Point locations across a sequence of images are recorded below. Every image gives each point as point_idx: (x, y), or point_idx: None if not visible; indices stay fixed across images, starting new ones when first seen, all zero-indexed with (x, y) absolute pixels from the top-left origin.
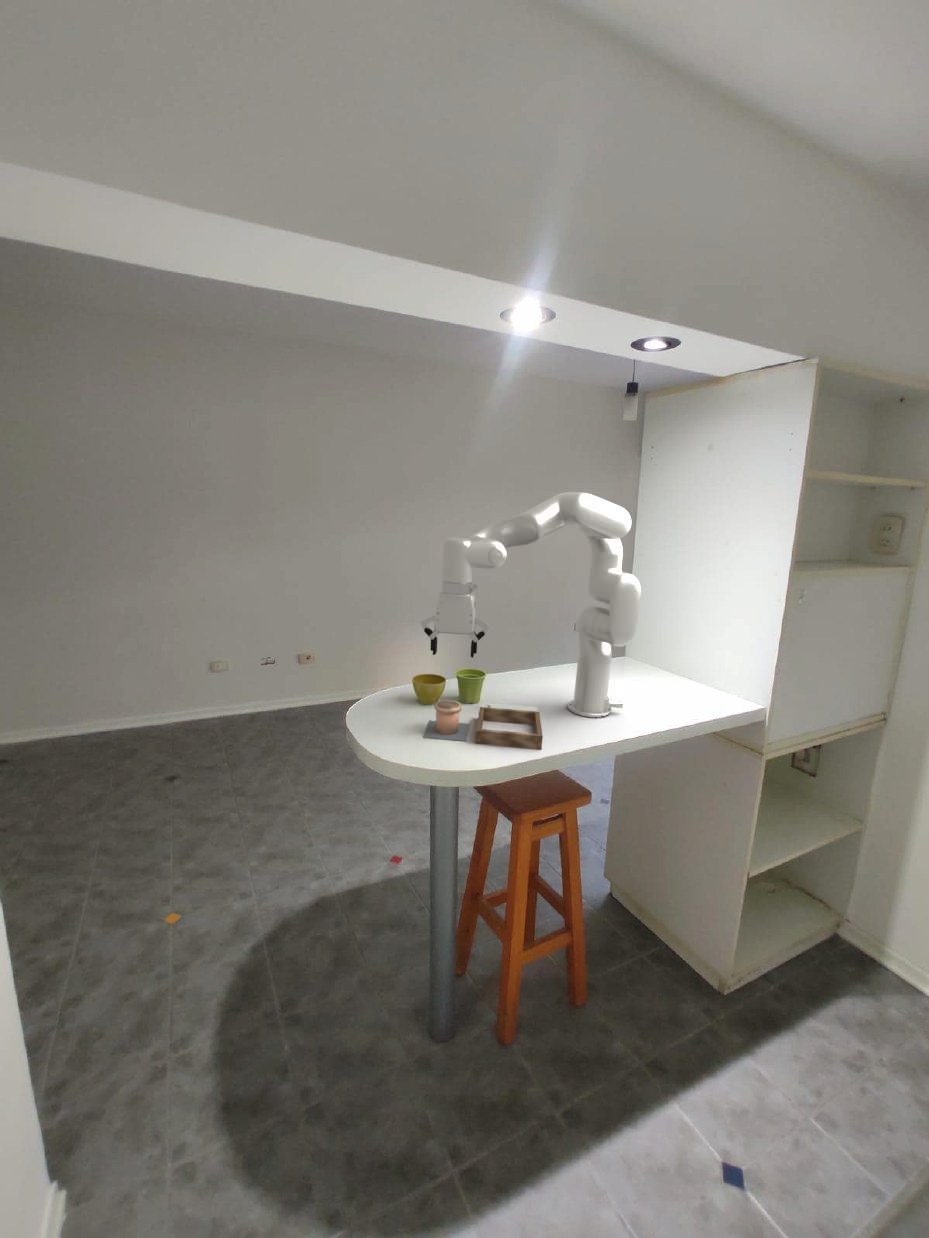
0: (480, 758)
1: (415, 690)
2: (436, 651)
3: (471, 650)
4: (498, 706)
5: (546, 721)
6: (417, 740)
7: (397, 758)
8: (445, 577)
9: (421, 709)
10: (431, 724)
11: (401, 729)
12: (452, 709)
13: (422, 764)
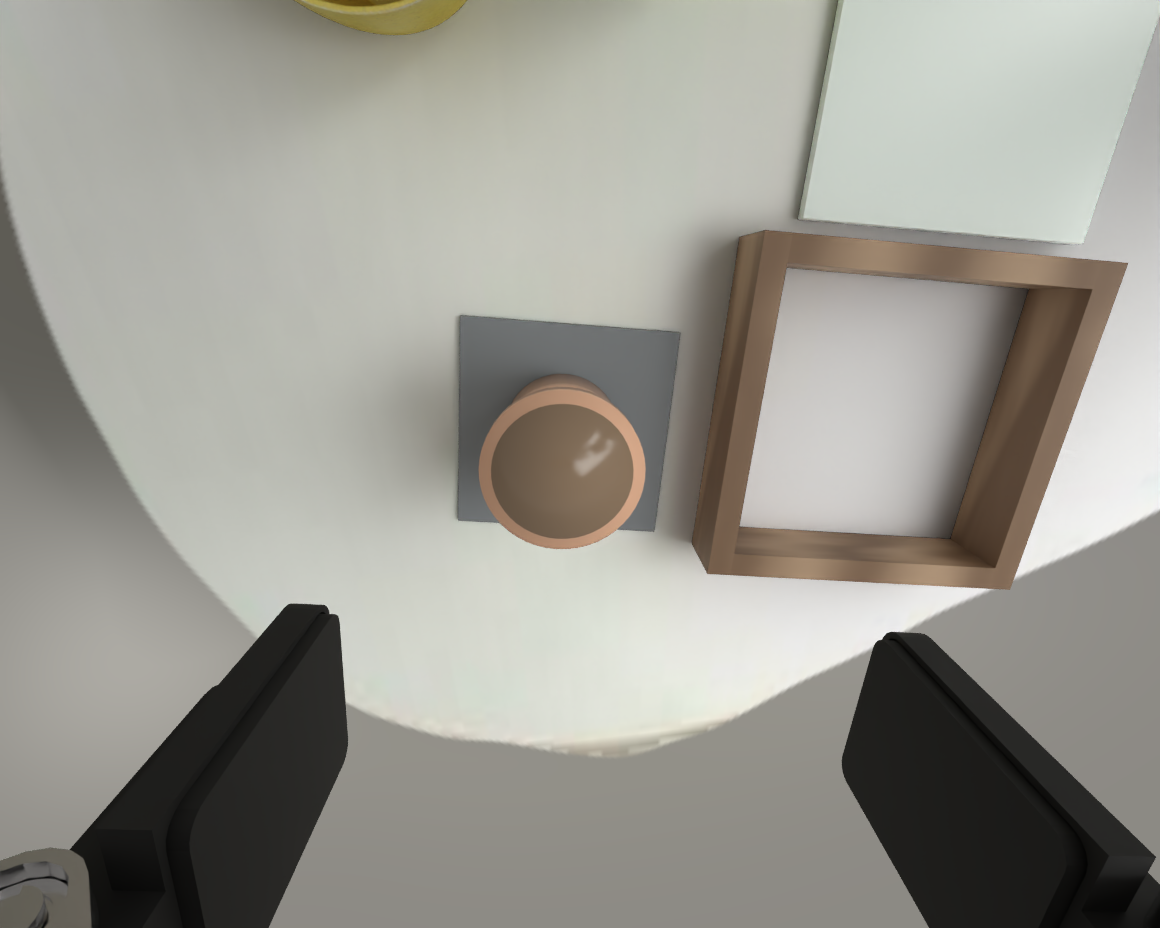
0: (700, 657)
1: None
2: (334, 669)
3: (902, 861)
4: (896, 21)
5: (1119, 224)
6: (438, 546)
7: (391, 695)
8: None
9: (385, 128)
10: (478, 372)
11: (339, 443)
12: (591, 540)
13: (489, 722)
